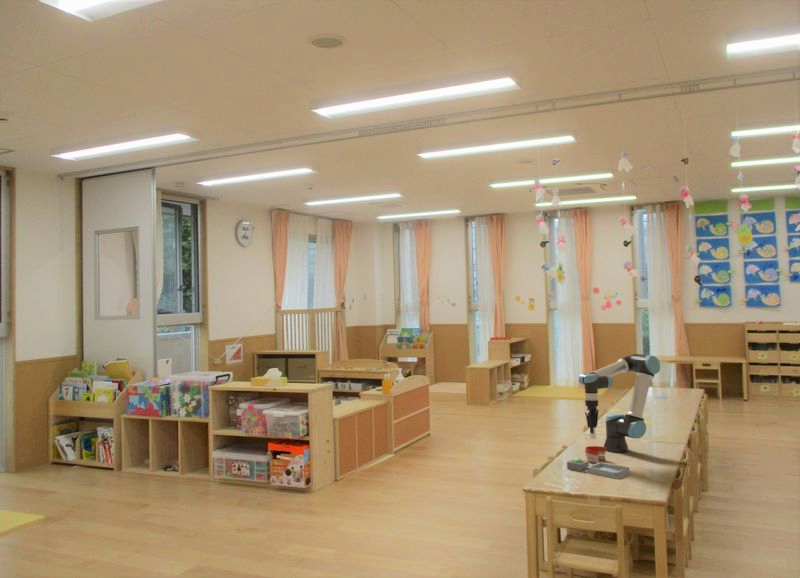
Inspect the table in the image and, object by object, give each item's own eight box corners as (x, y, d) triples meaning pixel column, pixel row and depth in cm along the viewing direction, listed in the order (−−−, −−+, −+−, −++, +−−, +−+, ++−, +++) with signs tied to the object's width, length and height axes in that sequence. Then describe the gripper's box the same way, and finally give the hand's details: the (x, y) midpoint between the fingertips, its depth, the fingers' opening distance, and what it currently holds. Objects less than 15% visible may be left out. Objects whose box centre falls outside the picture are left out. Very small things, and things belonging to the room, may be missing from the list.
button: (576, 465, 371) (576, 458, 372) (583, 466, 368) (582, 459, 369) (572, 467, 369) (572, 459, 369) (579, 468, 366) (579, 460, 366)
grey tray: (598, 466, 372) (598, 461, 372) (631, 473, 357) (631, 467, 357) (585, 472, 360) (584, 467, 360) (618, 479, 346) (617, 473, 346)
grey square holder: (575, 465, 375) (575, 459, 375) (589, 468, 368) (588, 461, 368) (567, 468, 369) (567, 461, 369) (581, 471, 362) (580, 464, 362)
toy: (590, 457, 393) (589, 445, 393) (606, 460, 386) (606, 447, 386) (581, 462, 383) (581, 449, 383) (598, 464, 376) (598, 451, 377)
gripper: (591, 397, 392) (592, 435, 392) (580, 400, 383) (582, 439, 383) (602, 398, 387) (603, 437, 387) (591, 401, 378) (593, 441, 378)
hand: (593, 438), depth 385 cm, fingers closed
